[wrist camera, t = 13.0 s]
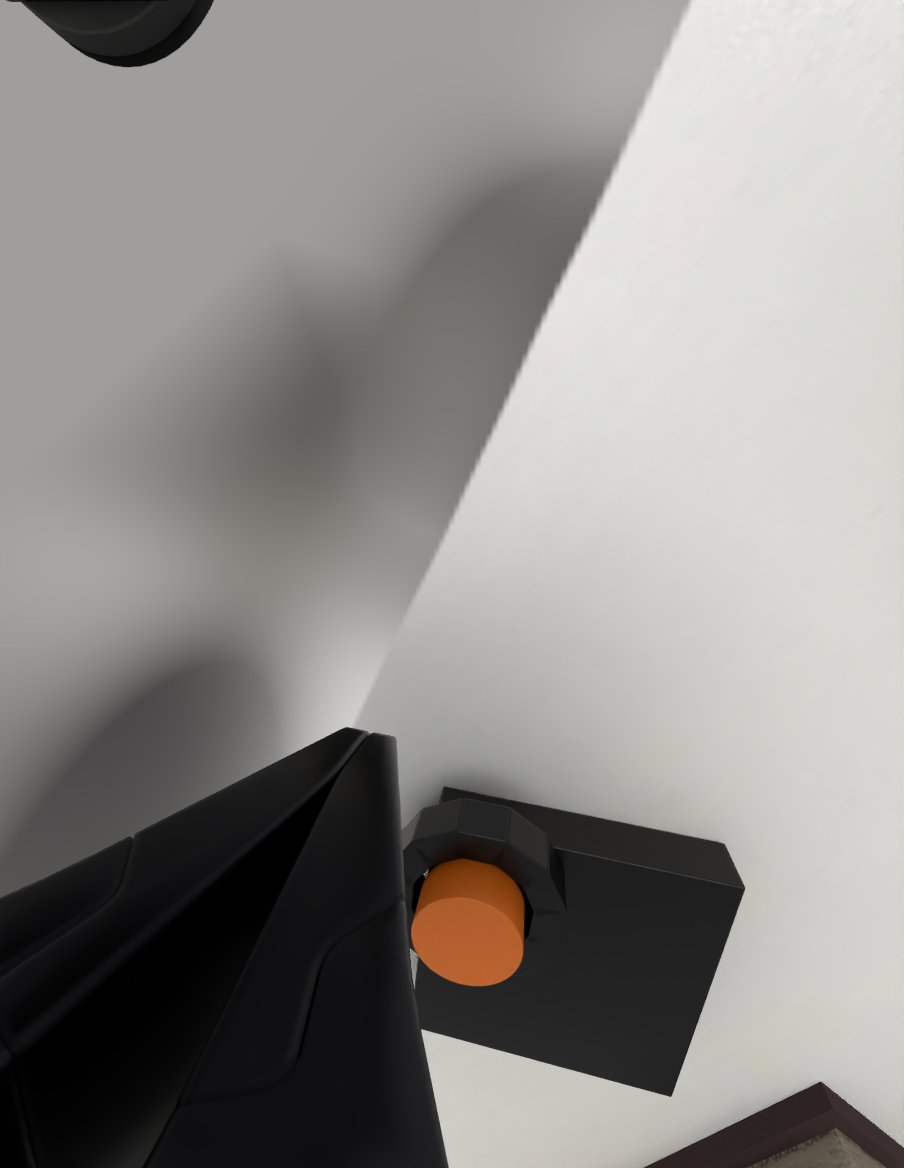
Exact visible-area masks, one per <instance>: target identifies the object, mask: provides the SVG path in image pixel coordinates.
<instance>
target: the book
mask: <svg viewBox="0 0 904 1168" xmlns="http://www.w3.org/2000/svg"><path fill="white" fill-rule="evenodd" d="M646 1168H904V1148H903V1147H902V1146H900V1145H899V1144H898V1143H897V1142H895V1141H894V1140H893V1139H892V1138H890V1137H889V1136H888V1135H887V1134H885V1133H884V1132H883V1131H882V1130H880V1129H879V1128H878V1127H877V1126H875V1125H874V1124H873V1123H872V1122H870V1121H869V1120H868V1119H867V1118H866V1117H864V1116H863V1115H862V1114H861V1113H859V1112H858V1111H857V1110H856V1109H854V1108H853V1107H852V1106H851V1105H849V1104H848V1103H847V1102H846V1101H844V1100H843V1099H842V1098H841V1097H839V1096H838V1095H837V1094H836V1093H834V1092H833V1091H832V1090H831V1089H829V1088H828V1087H827V1086H826V1085H824V1084H823V1083H822V1082H821V1083H819V1084H817V1085H815V1086H813V1087H811V1088H809V1089H807V1090H805V1091H802V1092H800V1093H798V1094H796V1095H794V1096H792V1097H790V1098H788V1099H786V1100H784V1101H782V1102H780V1103H778V1104H776V1105H774V1106H772V1107H769V1108H767V1109H765V1110H763V1111H761V1112H759V1113H757V1114H755V1115H753V1116H751V1117H749V1118H747V1119H745V1120H743V1121H741V1122H739V1123H736V1124H734V1125H732V1126H730V1127H728V1128H726V1129H724V1130H722V1131H720V1132H718V1133H716V1134H714V1135H712V1136H710V1137H708V1138H706V1139H704V1140H701V1141H699V1142H697V1143H695V1144H693V1145H691V1146H689V1147H687V1148H685V1149H683V1150H681V1151H679V1152H677V1153H675V1154H673V1155H671V1156H668V1157H666V1158H664V1159H662V1160H660V1161H658V1162H656V1163H654V1164H652V1165H650V1166H648V1167H646Z"/></svg>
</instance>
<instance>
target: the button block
mask: <svg viewBox="0 0 904 1168" xmlns="http://www.w3.org/2000/svg"><path fill="white" fill-rule="evenodd" d="M402 844H403V862H404V879H405V896H406V901H405V904H406V907H407V925H408V939H409V948H410V949H412V950H413V951H414V952H416V950H415V948H414V945H413V942H412V936H411V928H412V923H413V920H414V916H415V912H416V908H417V904H418V901H419V897H420V893H421V889H422V885H423V882H424V880H425V877H424V875H423V874H424V873H425V872H426V871H427V870H428V874H429V872H430V871H431V870H432V869H434V868H435V867H436V866H438V865H439V864H441V863H444V862H448V861H453V860H457V859H462V858H463V859H468V860H472V861H477V862H481V863H486V864H490V865H494V866H496V867H498V868H499V869H501V870H502V871H503V872H505V873H506V874H507V875H509V876H510V877H511V878H512V879H513V880H514V881H515V883H516V884H517V885H518V887H519V889H520V891H521V893H522V896H523V899H524V906H525V914H524V949H523V957H522V961H521V963H520V965H519V967H518V968H517V970H516V971H515V972H514V973H513V974H512V975H511V976H510V977H508V978H507V979H505V980H503V981H501V982H499V983H496V984H492V985H487V986H469V985H463V984H459V983H456V982H453V981H450V980H448V979H446V978H444V977H442V976H440V975H438V974H437V973H435V972H434V971H433V970H431V969H430V968H429V967H428V966H427V965H426V964H425V963H424V962H423V961H422V960H421V958H420V957H419V955H418V963H417V972H416V981H415V989H414V991H415V997H416V1003H417V1009H418V1015H419V1021H420V1027H421V1029H423V1030H426V1031H430V1032H434V1033H438V1034H441V1035H445V1036H449V1037H452V1038H456V1039H460V1040H463V1041H467V1042H471V1043H474V1044H478V1045H482V1046H485V1047H489V1048H493V1049H496V1050H500V1051H504V1052H507V1053H511V1054H515V1055H519V1056H522V1057H526V1058H530V1059H533V1060H537V1061H541V1062H544V1063H548V1064H552V1065H555V1066H559V1067H563V1068H566V1069H570V1070H574V1071H577V1072H581V1073H585V1074H588V1075H592V1076H596V1077H600V1078H603V1079H607V1080H611V1081H614V1082H618V1083H622V1084H625V1085H629V1086H633V1087H636V1088H640V1089H644V1090H647V1091H651V1092H655V1093H658V1094H662V1095H666V1096H670V1097H671V1096H672V1093H673V1091H674V1088H675V1085H676V1082H677V1079H678V1077H679V1074H680V1071H681V1068H682V1065H683V1062H684V1060H685V1057H686V1054H687V1051H688V1048H689V1046H690V1043H691V1040H692V1037H693V1034H694V1031H695V1029H696V1026H697V1023H698V1020H699V1017H700V1015H701V1012H702V1009H703V1006H704V1003H705V1000H706V998H707V995H708V992H709V989H710V986H711V984H712V981H713V978H714V975H715V972H716V969H717V967H718V964H719V961H720V958H721V955H722V953H723V950H724V947H725V944H726V941H727V938H728V936H729V933H730V930H731V927H732V924H733V921H734V919H735V916H736V913H737V910H738V907H739V905H740V902H741V899H742V896H743V893H744V890H745V886H744V884H743V882H742V880H741V878H740V876H739V874H738V871H737V869H736V867H735V865H734V863H733V861H732V859H731V857H730V854H729V852H728V850H727V848H726V846H725V844H722V843H717V842H712V841H708V840H703V839H698V838H693V837H688V836H683V835H678V834H673V833H668V832H664V831H659V830H654V829H649V828H644V827H639V826H634V825H629V824H625V823H620V822H615V821H610V820H605V819H600V818H595V817H590V816H586V815H581V814H576V813H571V812H566V811H561V810H556V809H551V808H546V807H542V806H537V805H532V804H527V803H522V802H517V801H512V800H507V799H503V798H498V797H493V796H488V795H483V794H478V793H473V792H468V791H464V790H459V789H454V788H449V787H444V788H443V791H442V795H441V798H440V802H439V804H438V805H434V806H430V807H427V808H423V810H421V811H420V812H419V813H418V814H417V815H416V816H415V818H414V819H413V820H412V821H411V822H410V823H409V824H408V825H407V826H406V827H405V828H404V829H403V831H402ZM416 953H417V952H416Z"/></svg>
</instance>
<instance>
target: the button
mask: <svg viewBox="0 0 904 1168" xmlns="http://www.w3.org/2000/svg"><path fill="white" fill-rule="evenodd" d="M524 914H525V906H524V899H523V896H522V893H521V891H520V889H519V887H518V885H517V884H516V883H515V881H514V880H513V879H512V878H511V877H510V876H509V875H507V874H506V873H505V872H503V871H502V870H501V869H499V868H498V867H496V866H494V865H490V864H486V863H481V862H477V861H472V860H468V859H463V858H462V859H457V860H453V861H448V862H444V863H441V864H439V865H438V866H436V867H435V868H434V869H432V870H431V871H430V872H429V874H428V875H427V876H426V878H425V880H424V882H423V885H422V889H421V893H420V897H419V901H418V904H417V908H416V912H415V916H414V920H413V923H412V928H411V936H412V942H413V945H414V948H415V950H416V952H417V954H418V955H419V957H420V958H421V960H422V961H423V962H424V963H425V964H426V965H427V966H428V967H429V968H430V969H431V970H433V971H434V972H435V973H437V974H438V975H440V976H442V977H444V978H446V979H448V980H450V981H453V982H456V983H459V984H463V985H469V986H487V985H492V984H496V983H499V982H501V981H503V980H505V979H507V978H508V977H510V976H511V975H512V974H513V973H514V972H515V971H516V970H517V968H518V967H519V965H520V963H521V961H522V957H523V949H524Z"/></svg>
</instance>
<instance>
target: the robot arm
mask: <svg viewBox="0 0 904 1168" xmlns="http://www.w3.org/2000/svg"><path fill="white" fill-rule="evenodd" d="M7 1H10V2H59V1H168V0H7ZM405 901H406V896H405V879H404V862H403V844H402V827H401V810H400V793H399V776H398V759H397V742H396V738H395V737H394V736H390V735H385V734H379V733H371V734H369V732H368V731H364V730H359V729H354V728H348V727H346V728H343V729H341V730H339V731H337V732H335V733H333V734H331V735H329V736H327V737H325V738H323V739H321V740H319V741H317V742H315V743H313V744H311V745H309V746H307V747H305V748H303V749H301V750H299V751H297V752H295V753H293V754H291V755H289V756H287V757H285V758H283V759H281V760H279V761H277V762H275V763H273V764H272V765H269V766H267V767H265V768H263V769H261V770H260V771H258V772H256V773H254V774H252V775H250V776H248V777H246V778H244V779H242V780H240V781H238V782H236V783H234V784H232V785H230V786H228V787H226V788H224V789H222V790H220V791H218V792H216V793H214V794H212V795H210V796H208V797H206V798H205V799H202V800H200V801H198V802H196V803H194V804H192V805H190V806H188V807H186V808H184V809H182V810H180V811H178V812H176V813H174V814H172V815H171V816H168V817H167V818H164V819H162V820H161V821H159V822H157V823H155V824H153V825H151V826H149V827H147V828H145V829H143V830H141V831H139V832H137V833H136V834H135V835H134V838H132V837H126V838H124V839H123V840H121V841H119V842H117V843H115V844H113V845H111V846H109V847H107V848H105V849H103V850H101V851H99V852H97V853H95V854H93V855H91V856H89V857H86V858H84V859H82V860H80V861H79V862H76V863H74V864H72V865H70V866H68V867H66V868H64V869H62V870H60V871H57V872H55V873H53V874H51V875H49V876H47V877H45V878H43V879H41V880H39V881H36V882H34V883H32V884H30V885H28V886H25V887H23V888H21V889H19V890H17V891H14V892H12V893H10V894H7V895H5V896H3V897H1V898H0V1168H449V1167H448V1162H447V1157H446V1152H445V1147H444V1142H443V1137H442V1132H441V1127H440V1122H439V1117H438V1112H437V1107H436V1102H435V1097H434V1092H433V1087H432V1082H431V1077H430V1072H429V1068H428V1063H427V1058H426V1053H425V1048H424V1043H423V1038H422V1032H421V1027H420V1021H419V1015H418V1009H417V1003H416V997H415V991H414V985H413V979H412V969H411V959H410V949H409V939H408V925H407V907H406V904H405Z"/></svg>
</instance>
